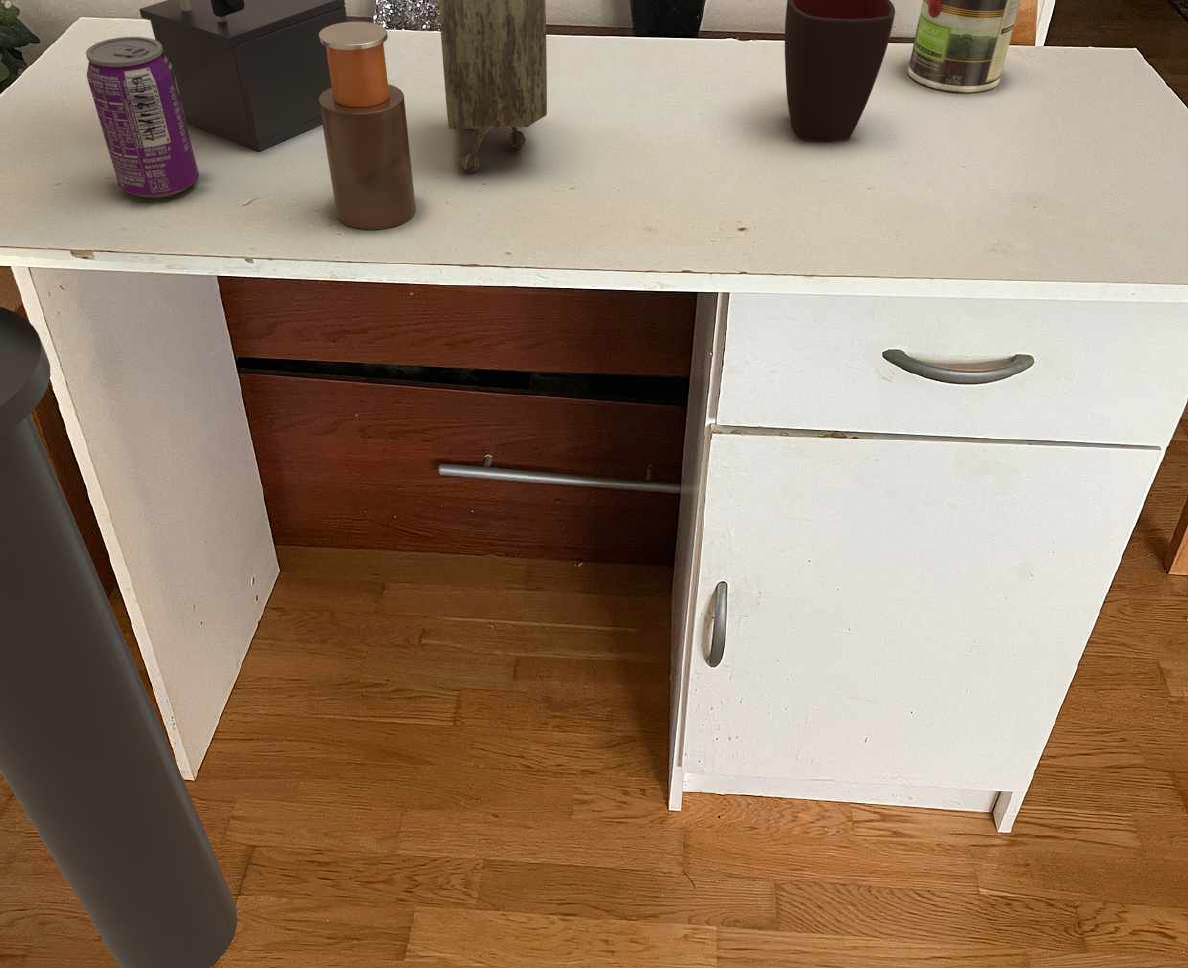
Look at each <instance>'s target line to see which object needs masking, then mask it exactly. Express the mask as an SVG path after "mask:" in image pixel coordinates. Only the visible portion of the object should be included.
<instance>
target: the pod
mask: <svg viewBox="0 0 1188 968" xmlns="http://www.w3.org/2000/svg"><path fill="white" fill-rule="evenodd" d="M388 37H389V35H388V31H387V28H385V27H384V26H383V25H381V24H377V23H374V22H369V21H347V22H344V23H338V24H334V25H331V26H328V27H326V28H324V29H322V30H321V31H320V33H319V40H320V42H321V43H322V44H323V45H325V46H326V53H327V59H328V66H329V73H330V79H331V86H332V93H333V99H334V101H335V102H336V103H338V104H340V105H343V106H347V107H357V108H360V107H370V106H375V105H378V104H381V103H383V102H385V101H386V100H387V99H388V98H389V88H388V84H389V79H388V71H387V63H386V53H385V46H384V43H385V42H386V41H387V40H388Z"/></svg>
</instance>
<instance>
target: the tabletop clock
mask: <svg viewBox="0 0 1188 968" xmlns="http://www.w3.org/2000/svg"><path fill="white" fill-rule="evenodd" d="M437 1H438V15H439V26H440V29H439V30H440V41H441V51H442V52H441V54H442V68H443V80H444V92H445V93H444V94H445V103H446V104H445V105H446V116H447V117H446V118H447V127H448V130H465V129H466V130H467V129H469V130H470V129H472V130H473V129H474V134H473V140H472V144H471V148H470V153H467V154H465V155H464V156H463V157H462V159H461V166H462V168H463V170H465V172H468V173H475V172H476V170H478V168H479V166H480V161H479V157H477V154H478V151H479V148H480V146H481V143H482V141H483V139H484V137H485V135H486V134H487V133H488V131H489V130H491V129H504V128H510V130H511V131H512V132H511V133H510V134H509V138H508V141H509V143H510V145H511V146H512V147H513V148H516V149H519V148H522V147H524V145H525V143H526V140H527V138H526V136H525V133H524V132H523V131H521V130H519V129H518V128H528V127H531V126H532V125H533V124H535V123H537V122H538V121H539V120H542V119H543V118H544V117H546V116H548V80H547V79H548V67H547V66H548V65H547V63H548V62H547V58H548V57H547V11H546V8H547V7H546V0H437Z"/></svg>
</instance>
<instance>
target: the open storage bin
mask: <svg viewBox="0 0 1188 968" xmlns="http://www.w3.org/2000/svg"><path fill="white" fill-rule="evenodd" d="M344 22H348V17H347V10H346V5H345V6H343V7H340V8H337V9H334V10H331V11H329V12H326V13H323V14H320V15H318V16H315V17H312V18H309V19H306V20H304V21H301V22H298V23H295V24H293V25H290V26H287V27H284V28H282V29H279V30H276V31H273V32H270V33H268V34H265V35H262V36H259V37H257V38H254V39H251V40H248V41H245V42H243V43H240V44H237V45H234V46H232V47H229V46H226V45H223V44H220V43H217V42H214V41H211V40H208V39H205V38H202V37H199V36H196V35H193V34H190V33H186V32H183V31H180V30H177V29H174V28H171V27H168V26H165V25H162V24H159V23H156V22H153V21H150V25H151V28H152V32H153V37H154V40H156V41H158V42H160V43H161V45H162V49H163V54H164V55H165V56H166V58H167V59H168V60H169V62H170V63H171V65H172V67H173V70H174V74H175V78H176V82H177V86H178V90H179V94H180V98H181V103H182V107H183V111H184V115H185V119H186V123H187V125H188V126H192V127H194V128H197V129H200V130H202V131H205V132H208V133H210V134H212V135H216V136H218V137H219V138H223V139H226V140H228V141H231V142H234V143H237V144H239V145H241V146H244V147H246V148H249V149H252V150H256V151H257V152H262V151H264V150H266V149H269V148H271V147H273V146H275V145H278V144H280V143H282V142H285V141H286V140H289V139H291V138H294V137H296V136H298V135H300V134H302V133H305V132H307V131H310V130H312V129H314V128H317V127H318V126H321V125H323V124H322V118H321V112H320V105H319V97H320V95H321V94H322V93H323V92H324V91H326V90H327V89H329V88H331V87H332V86H331V79H330V73H329V66H328V59H327V53H326V46H325V45H323V44H322V43H321V42H320V40H319V33H320V31H321V30H322V29H324V28H326V27H328V26H331V25H334V24H338V23H344Z"/></svg>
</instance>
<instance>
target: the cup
mask: <svg viewBox="0 0 1188 968" xmlns="http://www.w3.org/2000/svg"><path fill="white" fill-rule="evenodd" d="M895 16H896V9H895V6H894V3H893V2H892V1H891V0H786V7H785V19H784V22H785V23H784V67H785V87H786V99H787V100H786V101H787V108H788V114H789V120H790V126H791V129H792V130H793V132H794V133H795V135H796V136H797V137H799V138H800V139H802V140H803V141H811V142H813V141H814V142H837V141H839V142H840V141H843V140H844V141H845V140H849V139H850V138H851V136H852V135H853V133H854V131H855V130H856V127H857V126H858V123H859V121H860V120H861V118H862V115H863V113H864V111H865V109H866V106H867V104H868V102H869V99H870V96H871V94H872V92H873V89H874V86H875V83H876V80H877V78H878V75H879V72H880V69H881V66H882V64H883V62H884V58H885V56H886V55H885V54H886V52H887V49H888V46H889V41H890V38H891V34H892V31H893V26H894V25H893V24H894V21H895Z"/></svg>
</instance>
